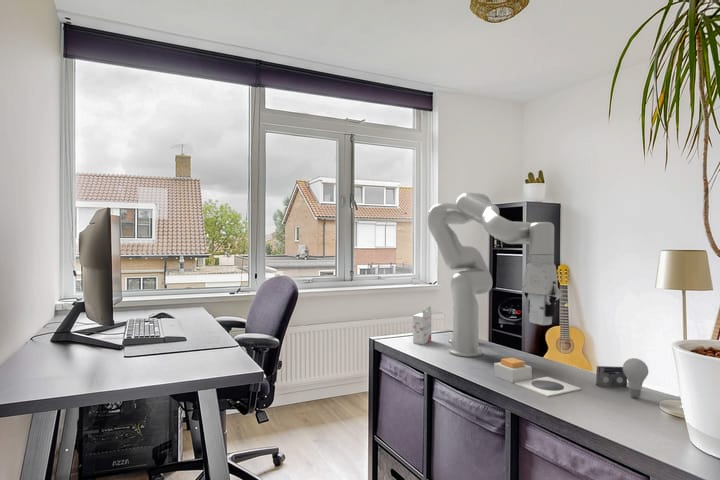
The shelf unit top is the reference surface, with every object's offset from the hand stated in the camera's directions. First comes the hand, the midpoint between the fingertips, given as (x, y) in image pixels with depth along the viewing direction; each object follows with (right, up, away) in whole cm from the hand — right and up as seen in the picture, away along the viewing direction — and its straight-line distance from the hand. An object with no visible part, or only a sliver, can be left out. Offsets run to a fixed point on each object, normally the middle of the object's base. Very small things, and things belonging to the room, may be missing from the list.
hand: (540, 314), depth 146 cm
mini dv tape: (+17, -20, -12) cm, 29 cm away
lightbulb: (+18, -20, -21) cm, 34 cm away
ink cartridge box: (-33, -19, +43) cm, 58 cm away
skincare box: (0, -3, 0) cm, 3 cm away
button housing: (-11, -19, -4) cm, 23 cm away
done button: (-11, -17, -4) cm, 20 cm away
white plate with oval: (-3, -20, -12) cm, 23 cm away
